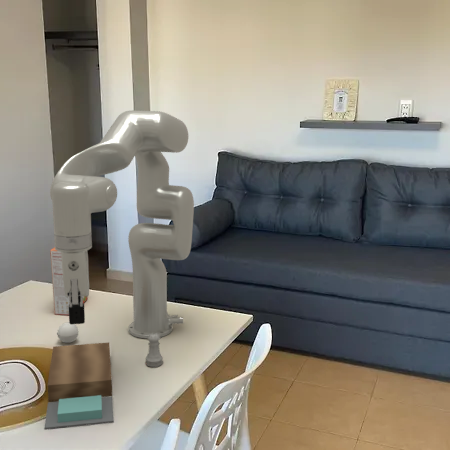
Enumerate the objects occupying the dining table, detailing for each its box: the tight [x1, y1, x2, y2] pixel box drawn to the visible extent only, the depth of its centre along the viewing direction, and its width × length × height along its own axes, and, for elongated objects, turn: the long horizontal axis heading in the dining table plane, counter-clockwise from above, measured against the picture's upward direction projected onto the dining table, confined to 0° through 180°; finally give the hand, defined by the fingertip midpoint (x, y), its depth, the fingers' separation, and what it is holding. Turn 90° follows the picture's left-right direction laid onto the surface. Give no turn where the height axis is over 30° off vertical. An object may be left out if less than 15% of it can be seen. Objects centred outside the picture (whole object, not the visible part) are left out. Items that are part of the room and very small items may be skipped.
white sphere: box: [56, 321, 79, 344], centre depth 160 cm, size 8×6×6 cm
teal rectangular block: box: [58, 395, 102, 423], centre depth 126 cm, size 9×6×2 cm, turn 102°
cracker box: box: [49, 247, 88, 316], centre depth 183 cm, size 14×6×21 cm, turn 172°
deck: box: [46, 341, 113, 403], centre depth 142 cm, size 14×20×4 cm
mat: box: [44, 395, 115, 430], centre depth 127 cm, size 14×10×1 cm
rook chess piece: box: [144, 333, 164, 368], centre depth 149 cm, size 4×4×8 cm
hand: (77, 322), depth 127 cm, fingers closed
